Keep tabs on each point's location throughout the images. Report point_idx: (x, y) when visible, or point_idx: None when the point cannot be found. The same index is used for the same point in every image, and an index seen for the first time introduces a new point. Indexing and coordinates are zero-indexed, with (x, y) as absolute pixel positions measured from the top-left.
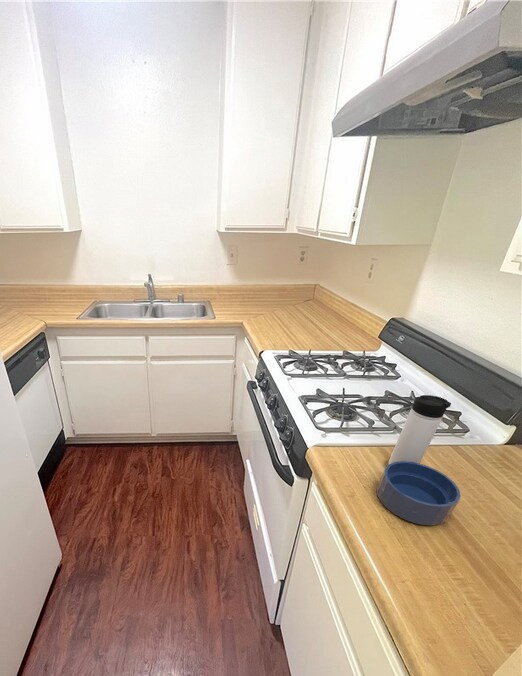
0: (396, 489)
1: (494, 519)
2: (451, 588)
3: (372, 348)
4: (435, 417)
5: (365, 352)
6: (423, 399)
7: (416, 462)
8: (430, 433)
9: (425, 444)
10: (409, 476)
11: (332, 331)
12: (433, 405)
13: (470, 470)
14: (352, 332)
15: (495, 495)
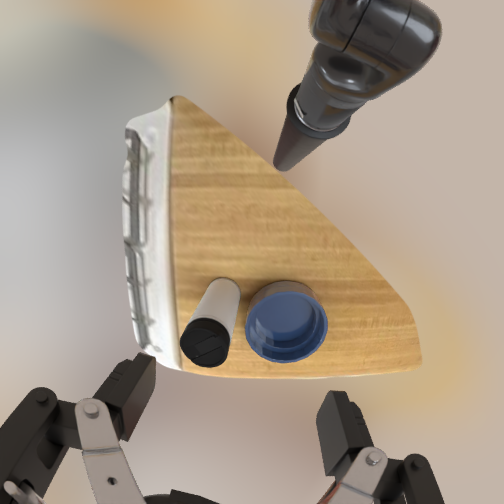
0: (295, 360)
1: (318, 236)
2: (377, 332)
3: None
4: (230, 341)
5: None
6: (192, 350)
7: (238, 301)
8: (233, 323)
9: (235, 313)
10: (256, 313)
11: None
12: (224, 360)
13: (228, 196)
14: None
15: (280, 200)
